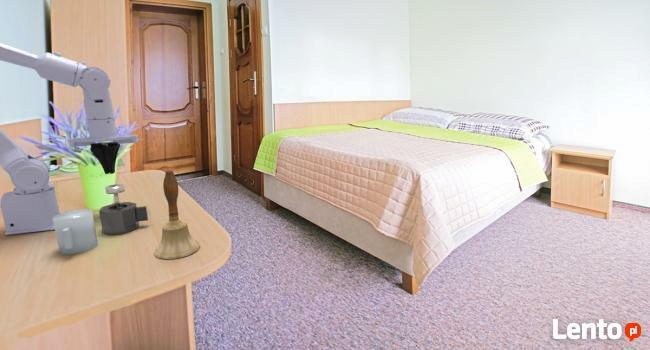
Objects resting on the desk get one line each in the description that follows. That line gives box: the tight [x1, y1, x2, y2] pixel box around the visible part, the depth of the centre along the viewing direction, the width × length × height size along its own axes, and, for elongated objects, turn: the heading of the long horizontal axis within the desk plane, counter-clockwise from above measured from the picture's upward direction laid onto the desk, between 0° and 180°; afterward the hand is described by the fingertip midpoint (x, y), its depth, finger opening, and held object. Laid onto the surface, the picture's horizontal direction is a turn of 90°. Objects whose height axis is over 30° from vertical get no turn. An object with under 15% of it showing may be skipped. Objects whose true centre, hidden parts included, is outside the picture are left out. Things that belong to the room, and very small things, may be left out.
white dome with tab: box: [53, 208, 99, 256], centre depth 68 cm, size 6×8×7 cm
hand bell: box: [154, 169, 201, 260], centre depth 67 cm, size 8×8×16 cm
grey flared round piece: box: [104, 183, 126, 209], centre depth 78 cm, size 4×4×6 cm
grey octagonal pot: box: [98, 201, 149, 236], centre depth 79 cm, size 9×7×5 cm
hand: (110, 173), depth 88 cm, fingers closed
